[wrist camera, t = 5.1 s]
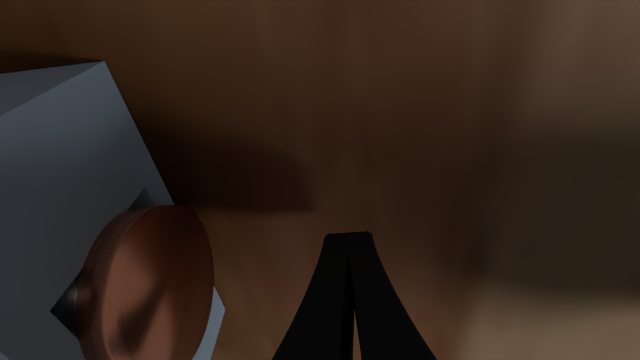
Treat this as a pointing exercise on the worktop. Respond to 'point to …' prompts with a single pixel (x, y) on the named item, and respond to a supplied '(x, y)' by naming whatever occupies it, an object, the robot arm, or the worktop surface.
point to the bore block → (65, 197)
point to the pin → (142, 288)
